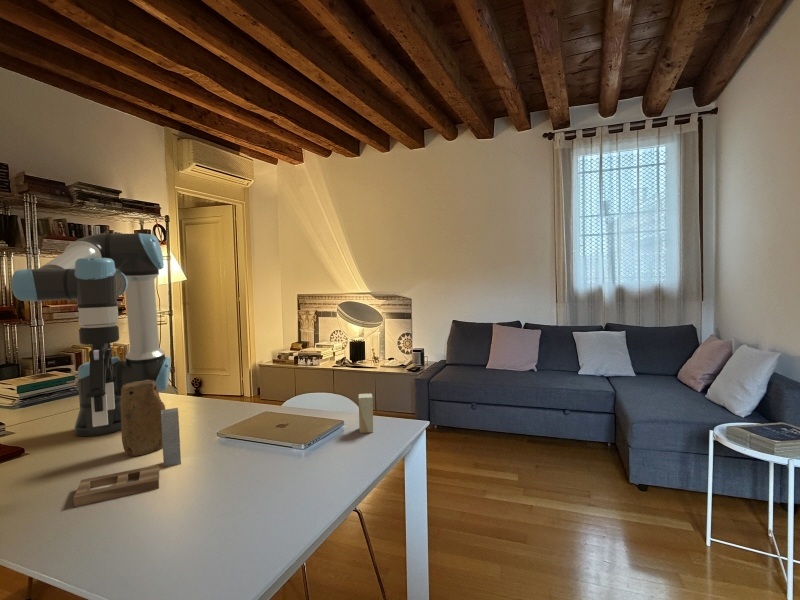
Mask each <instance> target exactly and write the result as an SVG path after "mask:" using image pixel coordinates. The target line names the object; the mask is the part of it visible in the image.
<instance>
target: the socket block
mask: <svg viewBox="0 0 800 600" xmlns="http://www.w3.org/2000/svg"><path fill="white" fill-rule="evenodd" d="M159 488H160V465H159V464H156V465H150V466H145V467H139V468H135V469H131V470H129V469H128V470H124V471H120V472H113V473H110V474H109V473H108V474H104V475H100V476H93V477H89V478H83V479H81V480H80V482H79V484H78V486H77V489H76V491H75V493H74V496H73V506H74V507H73V508H75V507H79V506H83V505H89V504H92V503H97V502H101V501H106V500H110V499H115V498H120V497H124V496H130V495H134V494H138V493H142V492H148V491H152V490H157V489H159Z"/></svg>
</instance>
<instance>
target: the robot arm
mask: <svg viewBox="0 0 800 600" xmlns="http://www.w3.org/2000/svg"><path fill="white" fill-rule="evenodd" d="M161 247H162V246H161V245H160V241H159V239H158V237H157V236H156V235H154V234H153V233H152V234H149V233H142V232H139V233H107V232H103V233H102V232H101V233H96V234H91V235H88V236H85V237H81V238H79V239H76V240H74V241H72V242H71V243H69V244H68V245H67V246H65V249H64V250H63V252H62V253H61V254H59V255H57V256H56V257H54V258H53V259H51V260H49V261H47V263H45V264H43V265H42V266H40V267H39V268H36V269H35V268H27V269H18V270H15V271H14V272H13V274H12V276H11V280H10V281H11V283H10V284H11V285H10V286H11V291H12V294H13V296H14V297H15V299H17V300H19V301H23V302H46V301H48V302H49V301H68V300H69V301H70V300H76V302H77V303H76V304H77V311H76V312H75V313H74V316H75V317H78V325H79V326H82V327H80V328H79V329H78V335H79V338H78V339H79V343H80V344H81V345H85V346H86V345H91V346H92V347H91V349H92V350H89V352H88V358H89V361H87V362H85V363H82V364H80V365H79V366H78V368H77V379H76V380H77V385H78V398H79V400H78V401H79V411H78V415H77V418H76V421H75V423H74V435H75V436H79V437H94V436H102V435H106V434H110V433H114V432H118V431H122V430H121V388H122V386H123V385H124V384H127V383H132V382H136V381H144V380H153V381H155V382H156V385H157V389H158V392H164V391H165V390H167V387H168V385H169V379H170V374H171V373H170V372H171V357H169V356H166V355H165V354H166V353H165V350H163V349H162V348H160V340H159V327H158V326H159V325H158V313H157V300H156V286H155V279H156V278H157V277H158V276H159V275H160V272H159V271H160V270H163V268H164V256H163V252H162V248H161ZM123 294H125V302H126V303H125V305H126V314H127V315H126V317H127V327H128V341H129V350H130V351H129V352H128V353H126V355H125V360H121V358H120V357H119V356H112V355H113V351H112V349H111V346H112V345H111V344H112V343H117V342H118V341H120V331H119V330H120V329H119V328H120V327H119V326H118V325H117V324H118V323H119V307H118V299H117V298H119V297H120V296H122V295H123Z"/></svg>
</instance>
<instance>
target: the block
mask: <svg viewBox="0 0 800 600" xmlns="http://www.w3.org/2000/svg"><path fill="white" fill-rule="evenodd" d="M159 392H160V391H159ZM159 392H158V389H157V385H156V382H155V381H153V380H144V381H136V382H132V383H127V384H124V385H123V386H122V388H121V430H120V431H121V441H122V447H123V450H124V453H125V454H126V455H127V456H129V457H131V456H137V457H138V456H143V455H148V454H150V453H152V452H156V451H158V450H162V449H163V443H162V424H161V410H166V405H165V403H164V402H163V401H162V400H161V397H160V393H159Z"/></svg>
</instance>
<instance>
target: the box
mask: <svg viewBox="0 0 800 600" xmlns="http://www.w3.org/2000/svg"><path fill="white" fill-rule="evenodd" d="M373 406H374V403H373V394H372V393H359V394H358V419H359V420H358V421H359V423H358V424H359V434H367V433H374V416H373V415H374V410H373V409H374V408H373Z"/></svg>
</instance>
